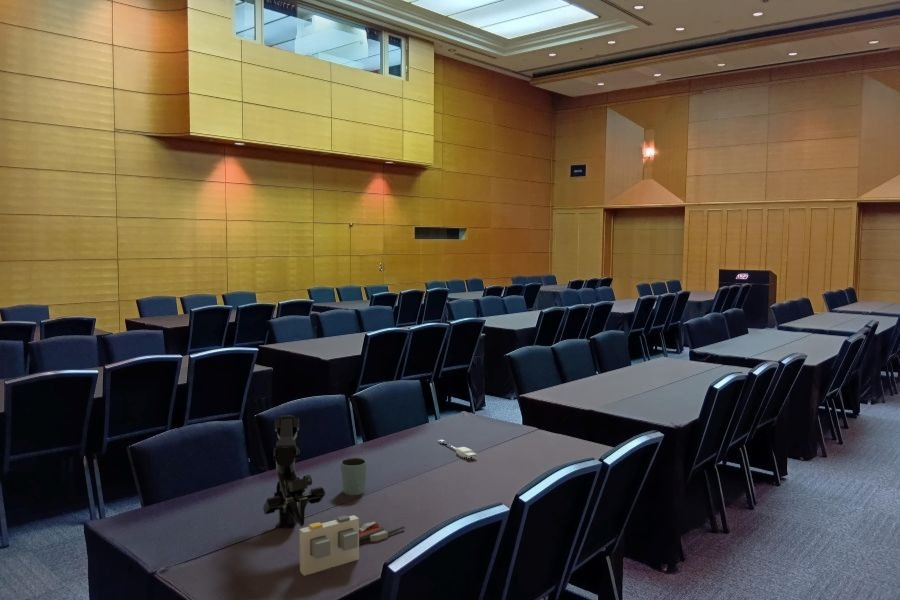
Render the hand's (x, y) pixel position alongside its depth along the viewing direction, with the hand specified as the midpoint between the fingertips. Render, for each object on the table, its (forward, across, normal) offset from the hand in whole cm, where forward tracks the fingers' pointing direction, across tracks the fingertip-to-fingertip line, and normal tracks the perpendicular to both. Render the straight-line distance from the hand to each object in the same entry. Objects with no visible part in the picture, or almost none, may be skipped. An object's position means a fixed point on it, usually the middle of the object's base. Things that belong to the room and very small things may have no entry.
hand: (302, 525), depth 206 cm
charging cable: (-36, +103, +50) cm, 120 cm away
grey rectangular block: (+10, 0, -3) cm, 11 cm away
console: (+14, +5, +1) cm, 15 cm away
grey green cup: (-23, +39, +37) cm, 58 cm away
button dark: (+10, +9, -3) cm, 14 cm away
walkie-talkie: (+6, +26, +9) cm, 29 cm away
